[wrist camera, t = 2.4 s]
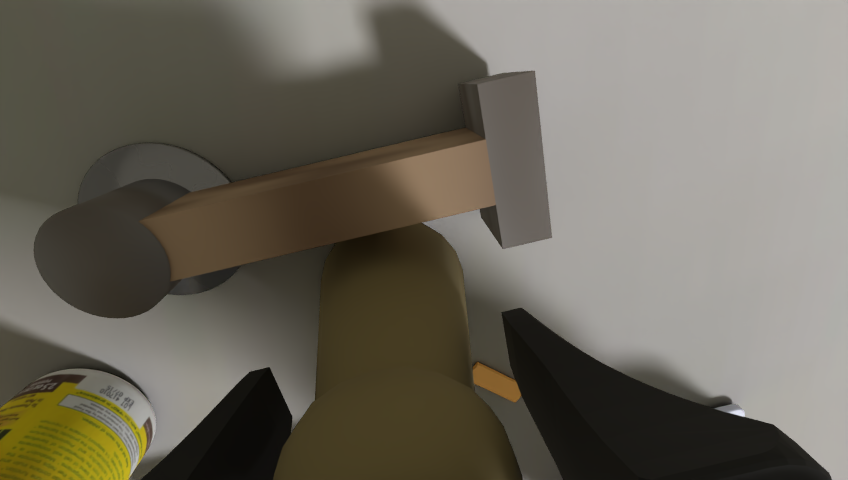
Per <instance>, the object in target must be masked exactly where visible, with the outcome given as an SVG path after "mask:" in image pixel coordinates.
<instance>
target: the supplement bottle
mask: <svg viewBox="0 0 848 480" xmlns="http://www.w3.org/2000/svg"><path fill="white" fill-rule="evenodd" d="M155 431H156V417H155V413H154V410H153V408H152V406H151V404H150V402H149V401H148V399H147V398H146V397H145V396H144V395H143V394H142V393H141V392H140V391H139V390H138V389H137V388H136V387H134V386H133V385H132V384H130V383H129V382H127V381H125V380H123V379H121V378H119V377H117V376H115V375H112V374H109V373H106V372H102V371H98V370H92V369H66V370H60V371H56V372H53V373H50V374H47V375H45V376H42V377H40V378H39V379H37V380H35V381H34V382H32V383H31V384H29V385H28V386H27V387H25V388H24V389H23V390H22V391H21V392H19V393H18V394H17V395H16V396H14V397H13V398H12V399H11V400H10V401H8V402H7V403H6V404H5V405H4V406H2V407H1V408H0V480H128V479H129V478H130V476H131V475H132V473H133V471H134V470H135V468H136V467H137V465H138V464H139V462H140V461H141V459H142V458H143V456H144V455H145V453H146V451H147V450H148V448H149V446H150V445H151V443H152V441H153V438H154V435H155Z"/></svg>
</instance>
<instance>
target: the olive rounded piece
mask: <svg viewBox="0 0 848 480" xmlns="http://www.w3.org/2000/svg"><path fill="white" fill-rule="evenodd" d="M273 480H523V479H522V474H521V471H520V468H519V465H518V463H517V460H516V457H515V454H514V451H513V449H512V446H511V444H510V441H509V439H508V436H507V434H506V431H505V429H504V426H503V425H502V423H501V422H500V421H499V419H498V418H497V416H496V415H495V414H494V412H493V411H492V409H491V408H490V407H489V406H488V405H487V404H486V403H485V402H484V401H483V400H482V399H481V398H480V397H479V396H478V395H477V394H476V393H475V388H474V378H473V368H472V358H471V348H470V338H469V328H468V318H467V308H466V298H465V288H464V278H463V270H462V267H461V264H460V262H459V259H458V256H457V254H456V251H455V250H454V249H453V248H452V246H451V245H450V244H449V243H448V242H447V240H446V239H445V238H444V237H443V236H442V235H441V234H439V233H438V232H436V231H434V230H433V229H431V228H429V227H428V226H426V225H424V224H422V223H417V224H413V225H409V226H405V227H400V228H396V229H392V230H388V231H383V232H379V233H375V234H371V235H366V236H362V237H358V238H354V239H349V240H345V241H341V242H337V243H336V244H335V246H334V247H333V249H332V251H331V252H330V254H329V255H328V257H327V259H326V260H325V264H324V269H323V274H322V279H321V291H320V311H319V331H318V351H317V371H316V391H315V401H314V402H313V403H312V404H311V405H310V407H309V408H308V410H307V411H306V412H305V414H304V415H303V417H302V418H301V420H300V421H299V422H298V424H297V425H296V427H295V428H294V430H293V432H292V433H291V435H290V436H289V438H288V440H287V441H286V443H285V444H284V446H283V448H282V450H281V454H280V457H279V460H278V463H277V467H276V470H275V473H274V477H273Z"/></svg>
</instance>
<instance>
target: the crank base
mask: <svg viewBox="0 0 848 480" xmlns="http://www.w3.org/2000/svg"><path fill="white" fill-rule="evenodd" d="M144 179H161V180H166V181H170V182H173V183H176V184H178V185H180V186H182V187H184V188H186V189H187V190H189V191H190V192H194V191H198V190H202V189H207V188H211V187H215V186H219V185H224V184H228V183H232V182H231V181H230V180H229V179H228V177H227V176H226V175H225V174H224V173H222V172H221V171H220V170H219V169H218V168H217V167H216V166H214V165H213V164H212V163H210V162H209V161H207V160H206V159H204V158H202V157H201V156H199V155H197V154H195V153H193V152H191V151H188V150H186V149H183V148H180V147H177V146H172V145H168V144H160V143H139V144H133V145H128V146H125V147H121V148H118V149H116V150H113V151H111V152H109V153H107V154H106V155H104V156H103V157H101V158H100V159H99V160H98V161H97V162H96V163H95V164H94V165H93V166H92V167H91V168H90V169H89V171H88V172H87V173H86V175H85V177H84V179H83V181H82V183H81V186H80V190H79V195H78V204H80V203H83V202H85V201H88V200H90V199H93V198H95V197H98V196H100V195H103V194H105V193H108V192H110V191H113V190H115V189H118V188H120V187H123V186H125V185H128V184H130V183H133V182H136V181H139V180H144ZM239 267H240V265H239V266H235V267H230V268H226V269H222V270H218V271H213V272H209V273H205V274H201V275H196V276H192V277H188V278H184V279H182V280H181V281H180V282H179V283H178V284H177V285H176V286H175V287H174V288H173V289H172V290H171V291H170V292H169V293H168V294H173V295H187V294H195V293H200V292H204V291H207V290H210V289H212V288H214V287H217V286H218V285H220V284H222V283H223V282H225V281H226V280H227V279H229V278H230V277H231V276H232V275H233V274H234V273H235V272H236V270H237V269H238V268H239Z"/></svg>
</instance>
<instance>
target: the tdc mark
mask: <svg viewBox="0 0 848 480" xmlns="http://www.w3.org/2000/svg"><path fill="white" fill-rule="evenodd" d="M473 378H474V384H476V385H479V386H481V387H483V388H485V389H487V390H489V391H491V392H493V393H495V394H498V395H500V396H502V397H504V398H506V399H508V400H510V401H512V402H515V403H516V401H517V400H518V399H519V398H520V397H521V393H520V390H519V388H518V385H517V382H516V380H514V379H511V378H509V377H507V376H505V375H503V374H501V373H499V372H497V371H495V370H493V369H491V368H489V367H487V366H485V365H483V364H481V363H479V362H476V364H475V365H474V366H473Z"/></svg>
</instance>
